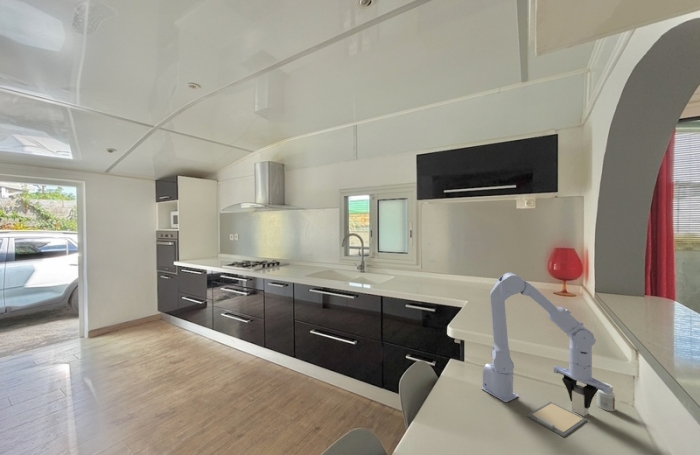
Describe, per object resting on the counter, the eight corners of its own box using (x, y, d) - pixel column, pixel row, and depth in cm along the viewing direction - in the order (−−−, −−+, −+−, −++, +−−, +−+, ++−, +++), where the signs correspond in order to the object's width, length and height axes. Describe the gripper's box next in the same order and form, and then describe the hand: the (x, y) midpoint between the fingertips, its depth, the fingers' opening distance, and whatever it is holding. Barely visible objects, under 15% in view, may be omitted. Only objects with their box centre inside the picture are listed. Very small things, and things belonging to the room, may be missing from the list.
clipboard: (526, 416, 85) (526, 412, 85) (550, 402, 93) (550, 399, 93) (563, 437, 77) (563, 433, 77) (586, 420, 84) (586, 417, 84)
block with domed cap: (571, 410, 89) (571, 386, 89) (576, 407, 91) (576, 383, 91) (584, 416, 86) (584, 391, 86) (588, 413, 88) (588, 388, 88)
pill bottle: (618, 412, 88) (618, 389, 89) (602, 410, 89) (602, 387, 89) (608, 404, 93) (608, 382, 93) (593, 402, 93) (593, 380, 94)
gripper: (614, 369, 84) (614, 413, 84) (560, 351, 97) (560, 389, 97) (605, 374, 81) (605, 420, 80) (550, 355, 94) (550, 394, 93)
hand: (580, 403), depth 88 cm, fingers closed on block with domed cap, 3 cm apart
